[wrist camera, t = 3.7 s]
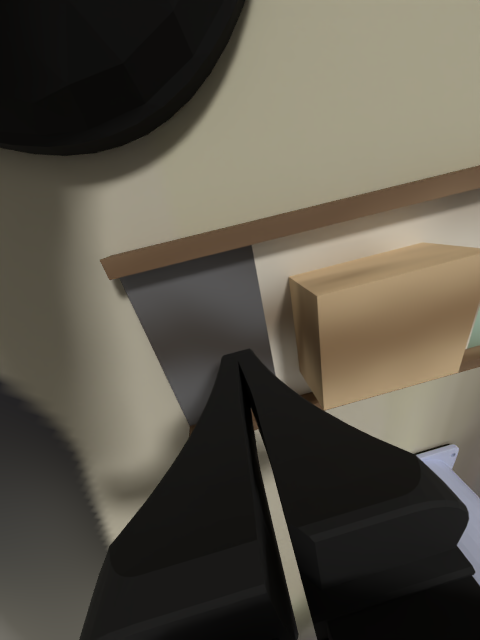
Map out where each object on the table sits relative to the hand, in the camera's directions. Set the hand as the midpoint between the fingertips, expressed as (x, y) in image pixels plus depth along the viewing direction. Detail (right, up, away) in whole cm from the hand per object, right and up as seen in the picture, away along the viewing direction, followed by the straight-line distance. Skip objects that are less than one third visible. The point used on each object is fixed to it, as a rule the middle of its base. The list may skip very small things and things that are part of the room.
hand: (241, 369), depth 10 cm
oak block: (+6, +3, +2) cm, 7 cm away
